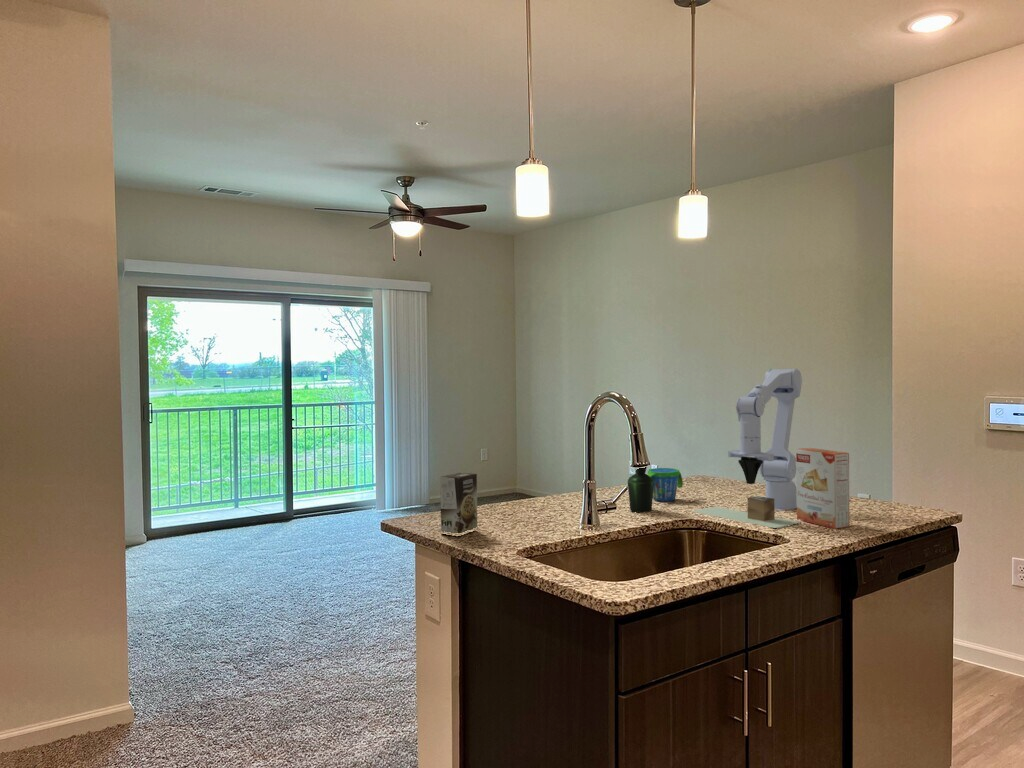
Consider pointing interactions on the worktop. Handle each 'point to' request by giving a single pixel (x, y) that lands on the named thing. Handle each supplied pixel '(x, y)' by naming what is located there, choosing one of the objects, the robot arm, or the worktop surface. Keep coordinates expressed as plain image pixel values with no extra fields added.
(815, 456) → the cracker box
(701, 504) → the worktop surface
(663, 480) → the snack cup
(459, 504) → the coffee box
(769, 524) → the pale green mat
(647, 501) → the potion bottle
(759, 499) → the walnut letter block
